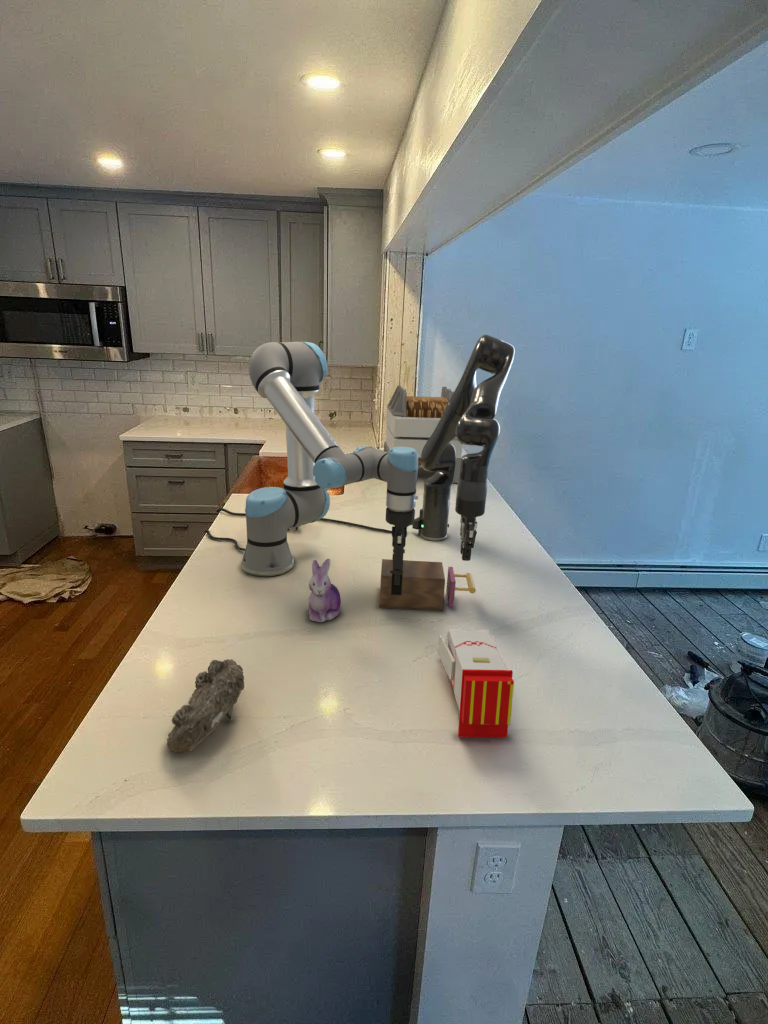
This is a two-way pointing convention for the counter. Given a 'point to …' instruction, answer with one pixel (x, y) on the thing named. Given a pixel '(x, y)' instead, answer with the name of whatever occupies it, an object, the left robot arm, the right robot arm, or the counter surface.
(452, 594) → the drawer
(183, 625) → the counter surface
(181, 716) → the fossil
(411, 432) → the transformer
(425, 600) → the cabinet
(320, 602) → the figurine
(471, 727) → the toy
